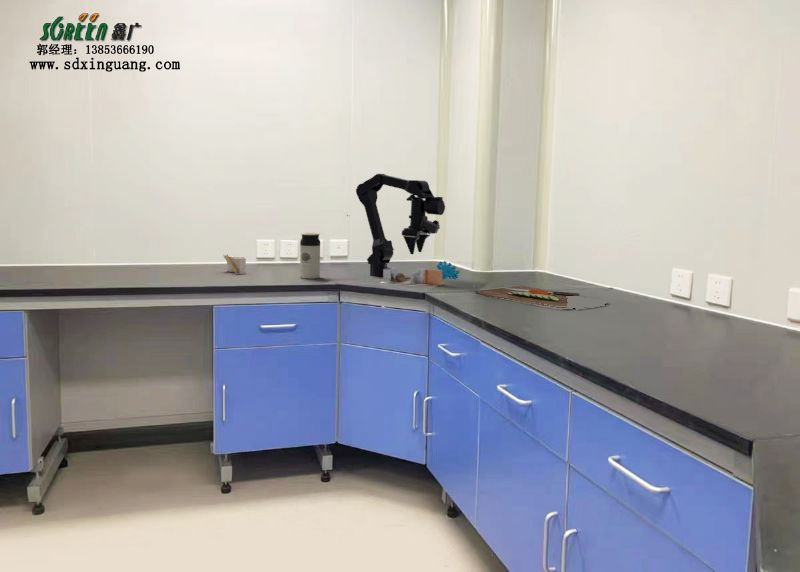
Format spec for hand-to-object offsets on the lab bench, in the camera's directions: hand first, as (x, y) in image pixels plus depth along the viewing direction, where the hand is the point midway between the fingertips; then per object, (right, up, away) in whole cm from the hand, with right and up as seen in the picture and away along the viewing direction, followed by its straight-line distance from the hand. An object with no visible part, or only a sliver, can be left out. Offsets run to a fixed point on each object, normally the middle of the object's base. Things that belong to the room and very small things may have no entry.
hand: (416, 253), depth 264 cm
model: (-76, -8, +18) cm, 78 cm away
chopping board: (+43, -18, -27) cm, 53 cm away
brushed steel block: (-10, -11, -4) cm, 15 cm away
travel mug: (-43, -10, +9) cm, 45 cm away
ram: (+4, -12, -9) cm, 16 cm away
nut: (-6, -11, -5) cm, 14 cm away
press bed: (-2, -13, -7) cm, 15 cm away
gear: (+13, -11, +13) cm, 21 cm away
